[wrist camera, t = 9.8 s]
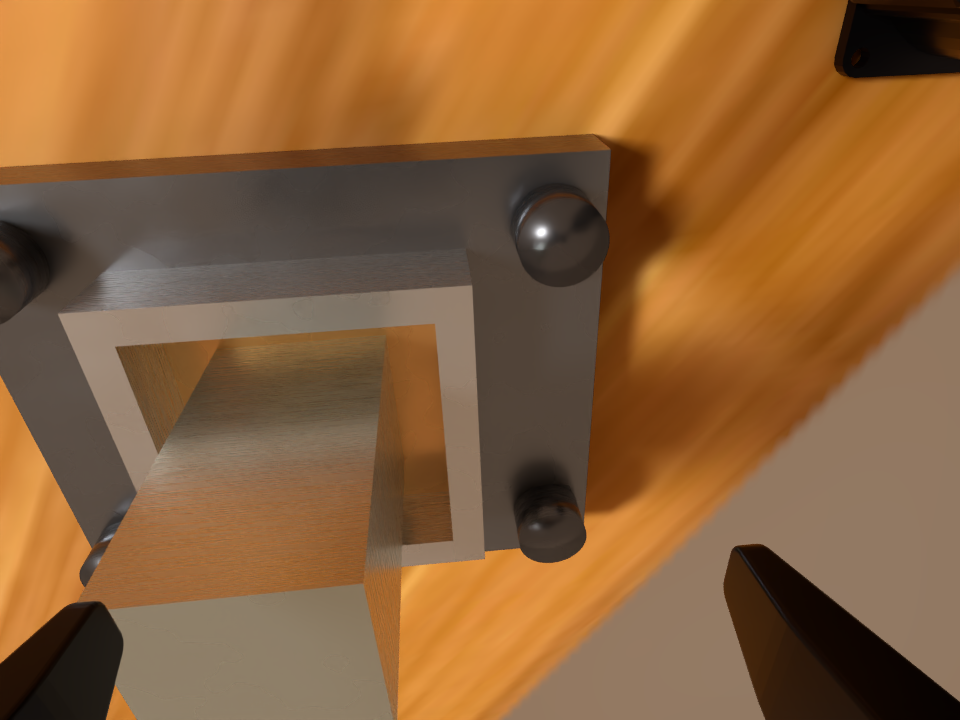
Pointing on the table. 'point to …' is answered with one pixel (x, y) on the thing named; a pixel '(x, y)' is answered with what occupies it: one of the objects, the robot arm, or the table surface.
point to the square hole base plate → (322, 315)
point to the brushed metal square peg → (267, 544)
